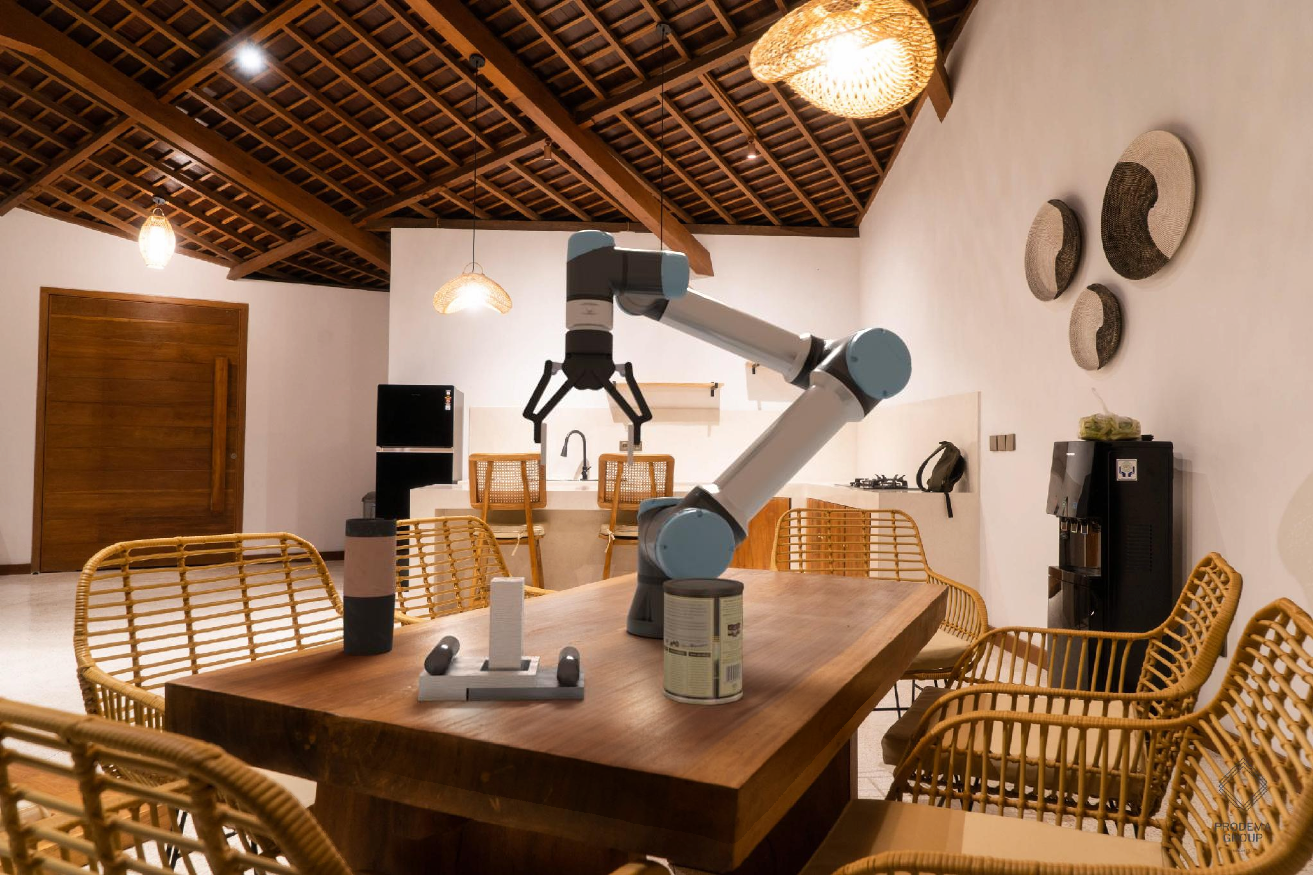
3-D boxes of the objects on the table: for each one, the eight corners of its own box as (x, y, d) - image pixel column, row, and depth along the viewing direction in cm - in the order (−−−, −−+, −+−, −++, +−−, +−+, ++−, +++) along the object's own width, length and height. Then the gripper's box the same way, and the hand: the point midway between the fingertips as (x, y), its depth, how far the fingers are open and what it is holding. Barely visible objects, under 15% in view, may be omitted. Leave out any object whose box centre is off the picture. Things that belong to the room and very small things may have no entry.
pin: (522, 684, 108) (524, 577, 108) (520, 693, 104) (522, 581, 104) (491, 685, 108) (493, 577, 108) (488, 693, 104) (490, 581, 104)
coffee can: (673, 680, 111) (674, 575, 112) (748, 687, 108) (750, 579, 109) (652, 701, 101) (653, 585, 102) (735, 708, 99) (736, 590, 99)
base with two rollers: (583, 678, 112) (584, 635, 112) (583, 699, 102) (584, 651, 102) (433, 679, 110) (434, 635, 110) (418, 700, 100) (419, 652, 100)
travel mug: (339, 656, 122) (343, 521, 123) (343, 645, 129) (347, 517, 130) (393, 654, 124) (397, 520, 125) (394, 643, 131) (398, 517, 132)
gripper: (507, 324, 125) (504, 464, 125) (670, 329, 128) (668, 466, 127) (511, 332, 133) (508, 464, 132) (665, 337, 135) (663, 466, 134)
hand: (587, 466), depth 129 cm, fingers open, 13 cm apart
